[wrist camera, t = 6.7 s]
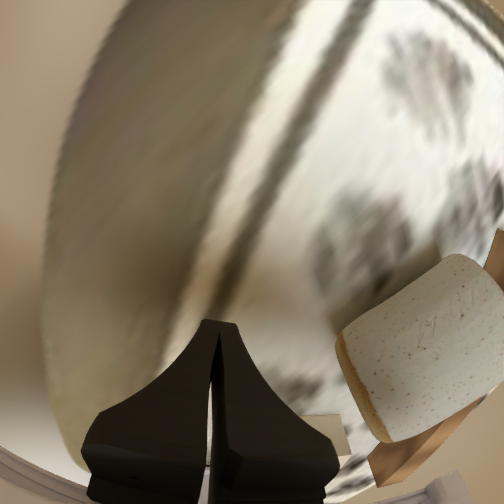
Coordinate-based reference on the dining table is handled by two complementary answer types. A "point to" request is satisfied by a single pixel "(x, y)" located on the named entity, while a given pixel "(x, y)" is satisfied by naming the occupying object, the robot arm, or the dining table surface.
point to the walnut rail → (426, 443)
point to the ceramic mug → (425, 349)
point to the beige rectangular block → (332, 433)
